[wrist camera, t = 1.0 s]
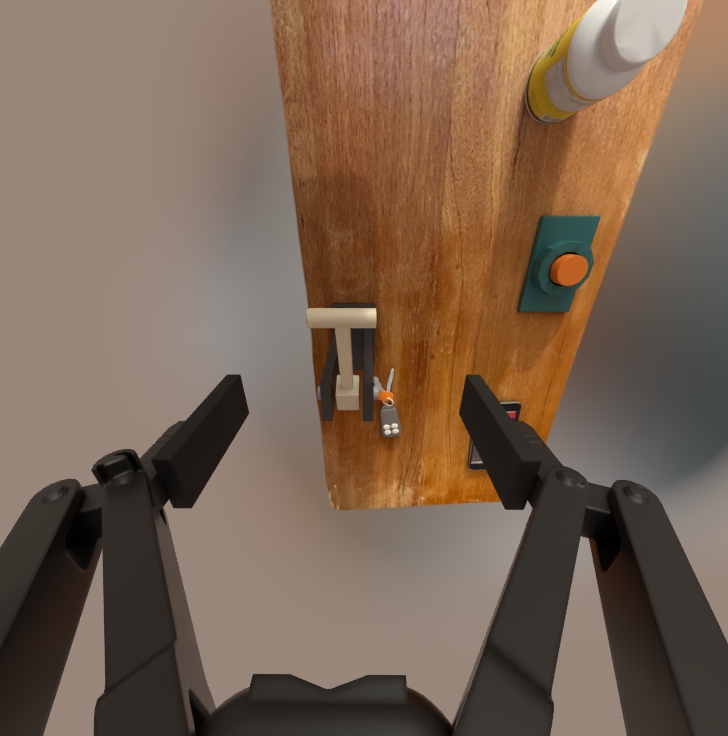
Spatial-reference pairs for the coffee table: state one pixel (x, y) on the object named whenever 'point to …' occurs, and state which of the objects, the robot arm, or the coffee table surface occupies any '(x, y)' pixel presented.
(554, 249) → the teal button base
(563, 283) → the button
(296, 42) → the coffee table surface
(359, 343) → the lever switch stand
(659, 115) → the coffee table surface
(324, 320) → the switch lever
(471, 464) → the smartphone
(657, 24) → the pill bottle
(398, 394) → the coffee table surface
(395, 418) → the key chain
